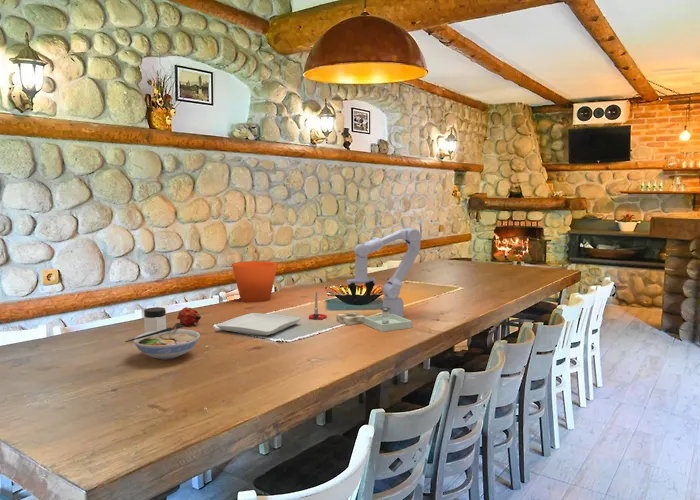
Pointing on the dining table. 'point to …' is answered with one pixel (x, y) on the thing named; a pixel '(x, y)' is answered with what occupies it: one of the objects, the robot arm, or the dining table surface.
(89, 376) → the dining table surface
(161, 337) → the ramen bowl
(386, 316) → the steel pin
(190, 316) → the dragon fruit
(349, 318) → the pin block
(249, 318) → the square plate
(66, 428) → the dining table surface
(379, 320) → the tray
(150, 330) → the jar
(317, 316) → the tow hook
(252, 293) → the flowerpot
